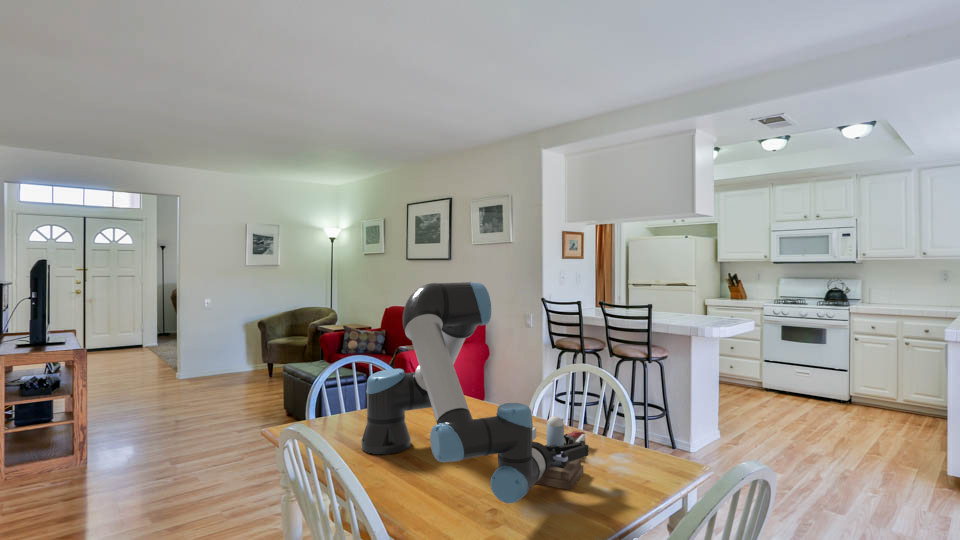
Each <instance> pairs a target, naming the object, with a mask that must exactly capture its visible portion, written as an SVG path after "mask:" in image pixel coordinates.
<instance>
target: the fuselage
mask: <svg viewBox="0 0 960 540" xmlns="http://www.w3.org/2000/svg"><path fill="white" fill-rule="evenodd" d="M564 435H565V425H564V422H563V419H562V418H561V417H559V416H557V415H553V416H551V417H549V418H548V420H547V423H546V445H548V446H551V445H557V446H563V445H564ZM553 450H554V449H553ZM550 466H553V467H559V468H564V465H562V464H561V461H559V460H556V461H555V462H552V463H551V465H550Z"/></svg>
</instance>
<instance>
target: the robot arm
mask: <svg viewBox="0 0 960 540" xmlns="http://www.w3.org/2000/svg"><path fill="white" fill-rule="evenodd" d="M491 317H492V302H491V296H490V294H489V291H488V289H487V288H486V286H485V285H484V284H482V282H472V281H468V282H465V281H464V282H441V283H440V282H438V283H437V282H431V283H427V284H423V285H421V286H419V287H418V288H417V289H416V290H414V292H413V293H412V294H411V295H409V297H408V299H407V300H406V303H405V305H404V308H403V312H402V327H403V330H404V333H405V336H406V338H407V339H408V340H410V341H411V343H412V345H413V349H414V353H415V355H416V359H417V362H418V366H417V367H416V369H415V371H414V372H413V371H412V372H405V370H404V369H403V368H389V369H383V370H379V371H377V372H374V373H372V374H371V375H369V376H368V378H367V381H366V390H365V392H366V425H365V428H364V432H363V435H362V439H361V447H362V448H361V447H360V448H361V450H362V451H363V450H364V451H365V453H367V452H368V453H367V454H370V453H372V454H371V455H379V454H383V455H392V454H391V453H393V454H398V453H401V452H404V451H406V450H407V449H409V448H410V447H411V444H412V443H411V442H412V441H411V436H410V433H409V429H408V426H407V422H406V419H405V417H406V415H405V414H406V412H409V411H414V410H422V409H431V408H432V412H433V416H434V419H435V422H436V424H435V425H434V426H432V428H431V430H430V435H429V437H430V439H429V441H430V447H431V452H432V455H433V456H434V459H435V460H436V461H438V462H440V463H448V462H449V463H450V462H460V461H462V460H467V459H471V458H477V457H482V456H484V457H485V456H490V455H491V456H492V455H496V454H497V467H496V469H495V471H494V472H493V474H492V476H491V477H490V489H491V491H492V493H493V495H494V496H495V497H496V499H497V500H499V501H500V502H502V503H505V504H514V503H517V502H518V501H520V500H521V499H522V498H524V497H525V496H526V495H527V494H528V492H529V491H530V490H531V489H532V488H533V486H534V485H536V482H537V481H538V480H539V479H540V477H541V476H542V475H543V474H544V473H545V472H546V471H547V470H548V469H549V467H550V465H551V463H552V462H555V461H556V460H559V461H561V464H562V465H566V464H567V463H569V462H571V461H574V460H577V459H580V458H581V459H582V458H586V457H588V456H589V453H590V451H589V450H590V449H589V444H586V435H585V434H586V433H585V434H582V435H581V436H580V437H579V438H578V439H577V440H576V441H575V444H569V445H563V446H557V445H551V446H548V445H547V444H545V445H543V444H542V443H540V442H537V441H534V440H535V439H536V438H537V427H535V426H533V425H534V424H533V415H532V413H533V412H532V410H531V408H530V406H528V405H526V404H524V403H519V402H506V403H502V404H499V406H498V407H497V408H496V411H497V412H496V415H495V416H490V417H489V416H488V417H481V418H480V417H479V418H473V417H472V413H471V412H470V408H469V406H468V402H467V400H466V398H465V397H466V396H465V395H464V392H463V389H462V386H461V383H460V380H459V377H458V375H457V374H458V373H457V372H456V369H455V366H454V364H455V363H456V360H457V358H458V356H459V353H460V352H461V349H462V347H463V344H464V343H465V341H466V339H467V338H469V337H471V336H472V335H473V334H475V332H476V329H477V327H479V326H484V325H485V326H486V325H488V324H489V323H490V322H491V321H490V320H491ZM553 449H554V450H553ZM364 451H363V452H364ZM397 452H398V453H397Z"/></svg>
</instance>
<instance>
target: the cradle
mask: <svg viewBox="0 0 960 540" xmlns="http://www.w3.org/2000/svg"><path fill="white" fill-rule="evenodd" d="M583 474H584V465H583V464H582V458H580V459H577V460H574V461H571V462H569V463H567V464H566V465H564V468H559V467H553V466H550V467H549V469H548V470H547V471H546V472H545V473H544V474H543V475H542V476H541V477H540V479H539V480H538V481H537V482H536V483H535V485H536V484H537V485H543V486H547V487H553V488H558V489H564V490H569V491H571V490H573V488H574V487H575V485H576V484H577V482H578V481H579V480H580V478H581V477H582V476H583Z"/></svg>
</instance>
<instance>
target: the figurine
mask: <svg viewBox="0 0 960 540" xmlns="http://www.w3.org/2000/svg"><path fill="white" fill-rule="evenodd" d="M582 434H586V432H584V431H577V430H576V431H574V430H573V431H572V432H568V433H564V445H569V444H575V441H576V440H577V439H578V438H579V437H580V436H581V435H582Z"/></svg>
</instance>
